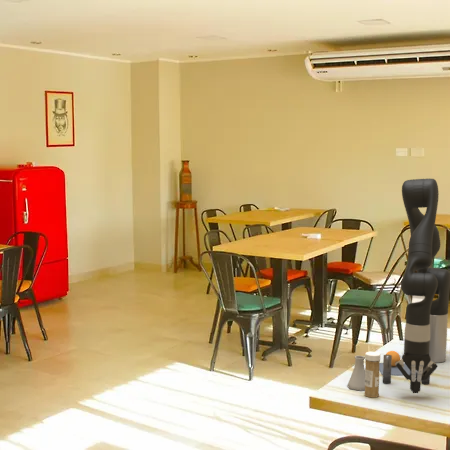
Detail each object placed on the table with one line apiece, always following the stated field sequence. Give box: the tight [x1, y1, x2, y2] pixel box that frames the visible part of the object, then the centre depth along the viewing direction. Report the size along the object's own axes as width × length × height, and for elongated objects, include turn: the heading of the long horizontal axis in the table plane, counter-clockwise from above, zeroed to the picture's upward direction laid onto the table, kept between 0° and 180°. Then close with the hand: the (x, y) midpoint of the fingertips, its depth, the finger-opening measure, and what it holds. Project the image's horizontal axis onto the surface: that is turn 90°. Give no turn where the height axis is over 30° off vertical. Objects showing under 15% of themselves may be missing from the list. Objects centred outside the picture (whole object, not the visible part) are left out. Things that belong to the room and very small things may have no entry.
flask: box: [346, 355, 365, 391], centre depth 227 cm, size 7×7×10 cm
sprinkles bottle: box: [364, 351, 381, 398], centre depth 219 cm, size 5×5×13 cm
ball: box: [385, 350, 401, 366], centre depth 249 cm, size 5×5×5 cm
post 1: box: [382, 354, 392, 385], centre depth 232 cm, size 3×3×9 cm
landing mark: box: [379, 362, 416, 377], centre depth 246 cm, size 13×13×1 cm
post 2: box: [421, 357, 431, 386], centre depth 231 cm, size 3×3×9 cm
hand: (414, 392), depth 219 cm, fingers closed
